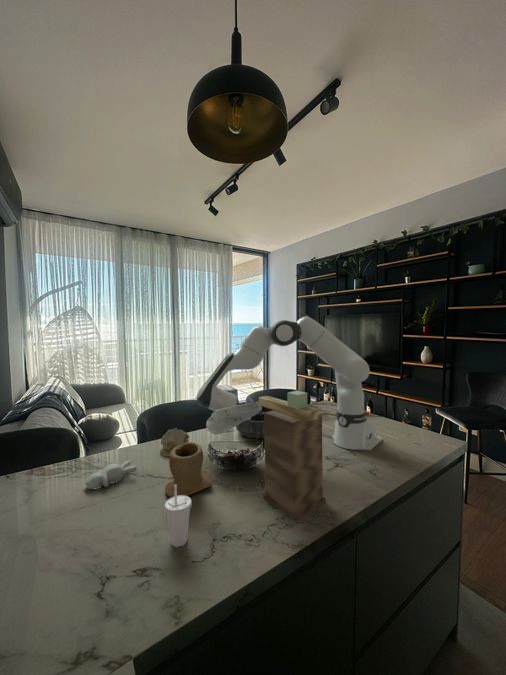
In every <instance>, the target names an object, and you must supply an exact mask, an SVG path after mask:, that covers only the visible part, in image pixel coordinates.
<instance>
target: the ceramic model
mask: <svg viewBox="0 0 506 675" xmlns="http://www.w3.org/2000/svg"><path fill="white" fill-rule="evenodd" d="M189 437H190V435H189V434H188V433H187V432H185V431H184V429H183V430H182V429H178V428H177V427H174V428H173V429H168V430H167V431H166V433H165V434H163V436H162V437H161V440H160V445H162V448H161V449H160V451H159V453H161V454H162V455H161V454H160V455H161V456H163V455H164V457H167V456H170V453H171V451H172V450H173V449H174V448H175V447H177V446H179V445H181V444H183V443H188V442H190V440H189V439H190V438H189Z"/></svg>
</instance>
